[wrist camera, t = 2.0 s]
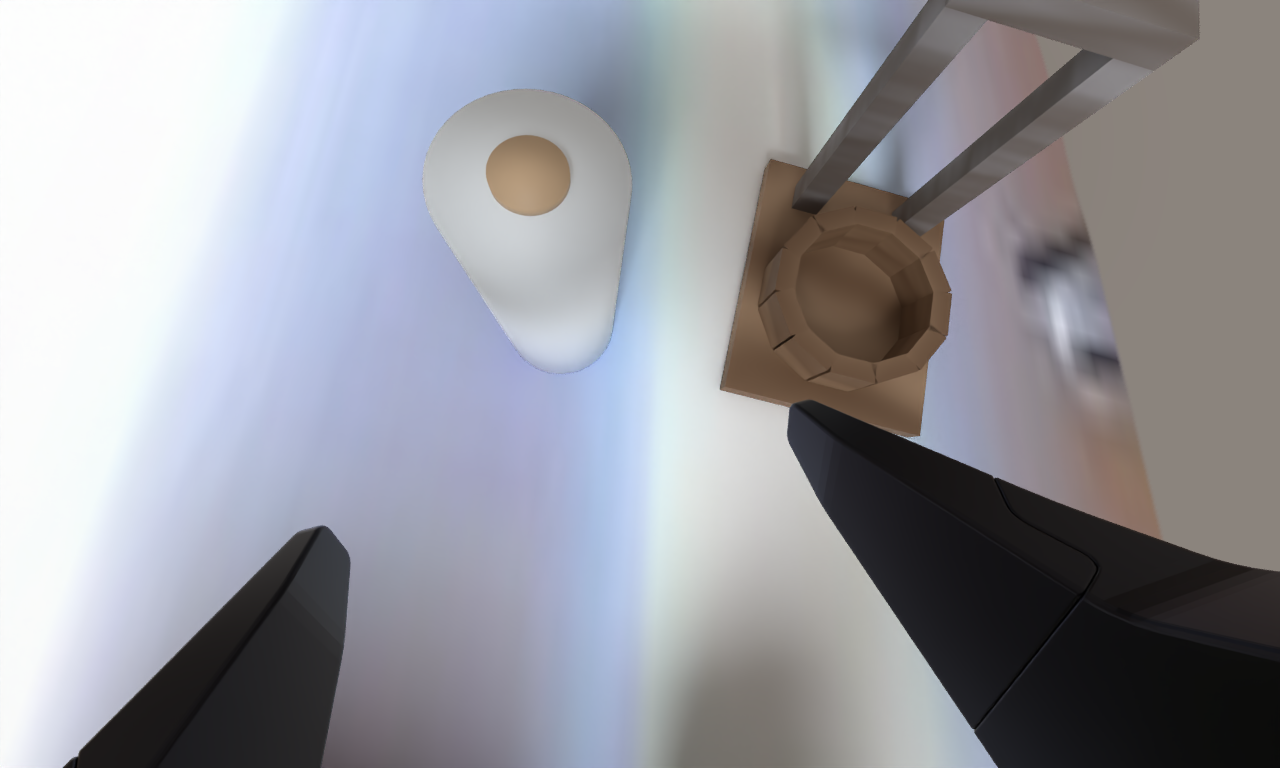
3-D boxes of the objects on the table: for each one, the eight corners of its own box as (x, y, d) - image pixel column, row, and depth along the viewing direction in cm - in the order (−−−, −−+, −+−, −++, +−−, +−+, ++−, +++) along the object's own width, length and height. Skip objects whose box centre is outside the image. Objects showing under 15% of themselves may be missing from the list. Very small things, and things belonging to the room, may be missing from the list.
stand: (907, 437, 26) (1262, 401, 12) (719, 389, 26) (870, 296, 12) (933, 216, 29) (1248, -16, 15) (764, 169, 28) (929, -118, 14)
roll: (633, 321, 26) (674, 172, 13) (564, 395, 25) (531, 314, 12) (558, 255, 26) (524, 44, 13) (486, 326, 25) (371, 171, 12)
